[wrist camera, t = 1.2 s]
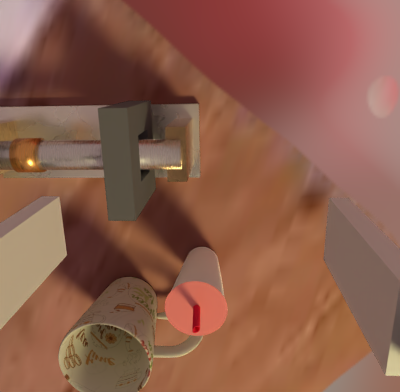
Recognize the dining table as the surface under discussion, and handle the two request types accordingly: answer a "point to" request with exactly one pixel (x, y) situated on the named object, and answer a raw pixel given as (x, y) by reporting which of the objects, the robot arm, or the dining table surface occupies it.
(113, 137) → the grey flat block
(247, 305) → the dining table surface
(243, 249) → the dining table surface
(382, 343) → the robot arm
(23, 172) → the metal rod stand
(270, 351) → the dining table surface
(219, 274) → the cup
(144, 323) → the mug
